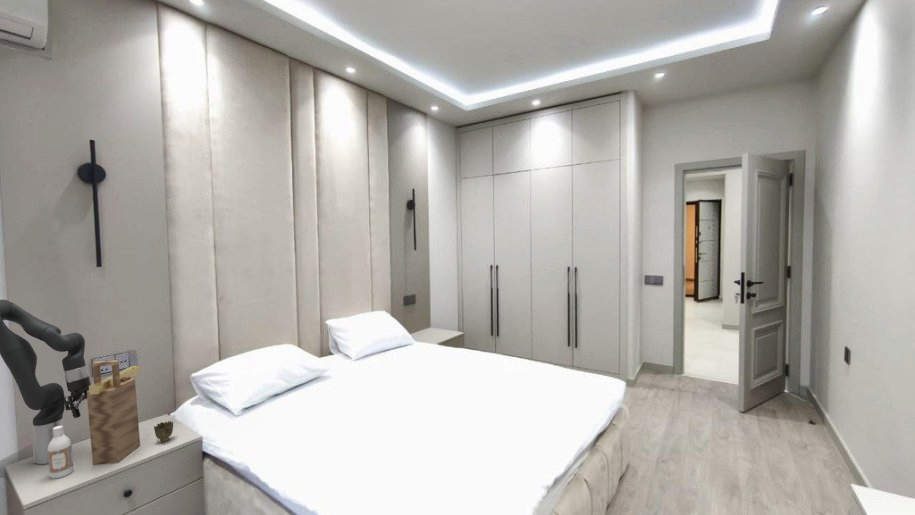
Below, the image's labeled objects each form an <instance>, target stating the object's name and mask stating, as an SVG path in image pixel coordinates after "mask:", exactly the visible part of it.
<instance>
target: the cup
mask: <svg viewBox="0 0 915 515" xmlns="http://www.w3.org/2000/svg"><path fill="white" fill-rule="evenodd" d="M153 429H154V433H155V434H154V435H155V437H156V439H158V440H159V441H160V443H165V442H168V441H169V440H170V437H171V436H172V434H173V431H174V422H173V421H171V420H168V421H165V422H163V421H161V422H160V423H157V424H156V426H155V425H154V426H153Z"/></svg>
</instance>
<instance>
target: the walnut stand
mask: <svg viewBox="0 0 915 515" xmlns="http://www.w3.org/2000/svg"><path fill="white" fill-rule="evenodd" d="M119 361H120V360H119V359H117V360H116V359H115V360H103V361H102V360H100V361H99V360H98V361H93V362H91V364H92V374H93V376H92V377H93V384H95V383H97V382H99V381H101V380H102V371H101V367H103V366H104V367H105V366H106V367H107V366H111V372H112V373H111V374H112V375H111V376H113V387H111V388H109V389H107V390H105V391H103V392H101V393H99V394H89V391H88V392H87V399H86V401H87V412H88V422H89V423H88V424H89V436H90V446H91V457H92V459H91V460H92V465H93V466H98V465H108V464H110V465H111V464H119V463H121V462H122V461H123V460H124V459H125V458H127V457H128V456H129V455H131V454H132V453H133V452H134V451H136V450H137V449H138V448H140V446H141V442H140V441H141V439H140V428H139V427H140V426H139V416H138V415H139V414H138V403H137V388H136V387H137V386H136V379H135V378H130V377H127V378H125V379H123V380H122V382H121V383H120V373H119V372H120V362H119Z"/></svg>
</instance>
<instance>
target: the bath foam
mask: <svg viewBox="0 0 915 515" xmlns="http://www.w3.org/2000/svg"><path fill="white" fill-rule="evenodd" d="M53 436H54V437H53V439H52V440H51V442H50V443H49V445H48V461H49V463H48V469H49V472H48V473H49V477H50V479H54V480H55V479H60V478H64V477H66V476H68V475H70V474H72V473H73V472H74V459H73V447H72V446H73V445H72V441H71V439H70V438H69V437H68V436H67V435H65V433H64V434H63V426H57V427H54V428H53Z"/></svg>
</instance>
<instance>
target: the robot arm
mask: <svg viewBox="0 0 915 515" xmlns="http://www.w3.org/2000/svg"><path fill="white" fill-rule="evenodd" d="M9 301H10V300H8V299H0V357H1V359H2V360H3V362H4V364H5V366H7V369H8V370H9V371H10V373H11V375H12V377H13V379H14V380H15V383H16V385H17V387H18V389H19V392H20V394H21V397H22V399H23V402H24V404H25V405H26V406H27V408H29V409H30V410H32V411H39V412H38V413H37V414H36V415H35V416H34V417H33V419H32V430H33V438H34V439H33V441H32V442H31V447H32V456H33V457H32V458H33V459H32V460H33V464H37V465H46V464H49V461H48V445H49V443H50V442H51V440H52V439H53V437H54V436H53V428H54V427H57V426H63V434H64V435H65V425H64V415H63V414H64V413H65V411H71V414H72V418H74V419H77V418H78V419H79V418H80V417H81V412H80V411H81V410H80V409H79V407H80V404H81V403H82V402H83V401H85V400H87V392H88V391H89V386H91V385H92V382H91V377H90V374H89V371H88V367H87V365H86V361H85V356H84V354H85V349H86V347H85V346H86V343H85V342H86V339H85V337H84V336H83V335H82V334H81V333H79V332H71V333H67V334H64V335H63V334H62V329H60V327H58V326H56V325H53V324H51V323H48V322H46V321H44V320H42V319H40V318H38V317H36V316H34V315H32V314H31V313H30V312H28V311H26V310H25V309H24V308H22V307H20V306H19V305H18V304H16V303H14V302H13V303H12V301H11V302H9ZM5 321H10V322H11V323H12V322H13V323H15V324H17V325H19V326H20V327H21V328H22V330H23V332H25V333H26V334H27V335H29V336H31V337H33V338H35V339H37V340H39V341H41V342H44V343H45V344H46V345H47V346H49V347H50V348H51V349H52V350H54V351H56V352H60V353H63V352H64V353H65V352H67V355H66V356H65V357H63V358H62V360H61V363H62V368H63V372H64V373H63V374H64V380H65V384H66V388H67V391H68V392H69V393H70V395H67V396H66V395H65V391H64V388H63V387H62V386H61V385H60V384H59V383H57V382H51V383H49V382H48V383H46V384H44V385H42V386H41V384H40V383H39V381H38V379H37V376H36V369H37V365H38V364H37V363H38V356H37V352H35V350H34V347H33V346H32V344H31V343H30V342H29V341H28V340H26V338H23V336H20V335H18V334H17V333H15V332H14V331H12V330H11V329H10V328H9V327H8V326H7V325H6V323H5Z"/></svg>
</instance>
